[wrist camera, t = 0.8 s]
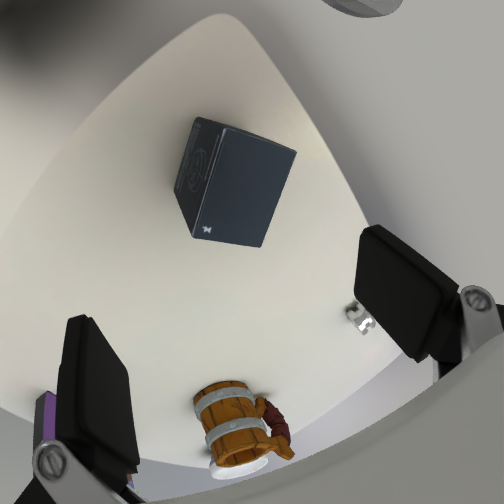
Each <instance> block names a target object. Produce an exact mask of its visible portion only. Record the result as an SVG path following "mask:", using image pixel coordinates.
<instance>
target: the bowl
mask: <svg viewBox="0 0 504 504" xmlns="http://www.w3.org/2000/svg"><path fill="white" fill-rule="evenodd" d="M267 463H268V459H267V456H266V454H265V455H263V456H262V457H259V459H257V460H255V461H253V462H250V463H247V464H243V465H240V466H235V467H231V468H223V467H218V466H216V463H215V461H214V458H213V455H212V457H211V462H210V467H209V469H210V473H211V476H212V477H213V478H214V479H232V478H237V477H241V476H244V475H247V474H250V473H253V472H255V471H257V470H259V469H261V468H262V467H264V466H265V465H266V464H267Z"/></svg>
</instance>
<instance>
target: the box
mask: <svg viewBox="0 0 504 504" xmlns="http://www.w3.org/2000/svg"><path fill="white" fill-rule="evenodd" d="M296 154H297V152H296V151H295V150H292V149H290V148H288V147H286V146H283V145H281V144H279V143H276V142H274V141H271V140H268V139H266V138H263V137H261V136H258V135H255V134H253V133H250V132H247V131H244V130H241V129H238V128H235V127H232V126H229V125H226V124H222V123H219V122H216V121H212V120H209V119H205V118H202V117H196V119H195V121H194V124H193V127H192V131H191V133H190V137H189V140H188V143H187V146H186V149H185V152H184V156H183V159H182V162H181V166H180V169H179V173H178V177H177V180H176V184H175V188H174V193H175V196H176V198H177V201H178V203H179V206H180V208H181V211H182V213H183V216H184V218H185V221H186V223H187V226H188V228H189V230H190V233H191V236H192V237H193V238H195V239H204V240H211V241H217V242H224V243H230V244H237V245H243V246H250V247H259V248H260V247H261V246H262V243H263V240H264V237H265V235H266V232H267V230H268V227H269V224H270V222H271V219H272V217H273V214H274V211H275V208H276V206H277V203H278V201H279V198H280V196H281V193H282V190H283V188H284V185H285V182H286V180H287V177H288V175H289V172H290V169H291V167H292V164H293V162H294V159H295V156H296Z"/></svg>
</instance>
